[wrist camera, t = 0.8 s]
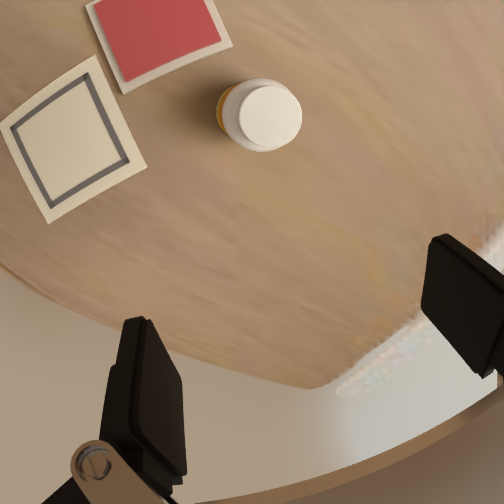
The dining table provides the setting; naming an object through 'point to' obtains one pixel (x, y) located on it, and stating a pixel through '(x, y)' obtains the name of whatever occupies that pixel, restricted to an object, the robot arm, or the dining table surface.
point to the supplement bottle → (259, 114)
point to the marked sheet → (71, 140)
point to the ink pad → (156, 36)
